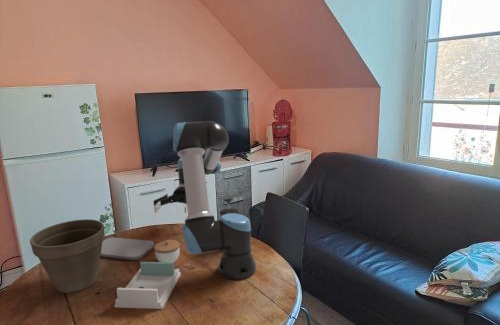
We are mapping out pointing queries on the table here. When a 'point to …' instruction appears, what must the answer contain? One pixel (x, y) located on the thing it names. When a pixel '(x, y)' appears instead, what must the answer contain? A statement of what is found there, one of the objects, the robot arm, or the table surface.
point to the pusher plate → (157, 268)
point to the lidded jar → (167, 251)
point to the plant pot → (70, 253)
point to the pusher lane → (147, 291)
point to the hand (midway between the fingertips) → (170, 209)
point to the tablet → (125, 248)
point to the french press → (227, 211)
